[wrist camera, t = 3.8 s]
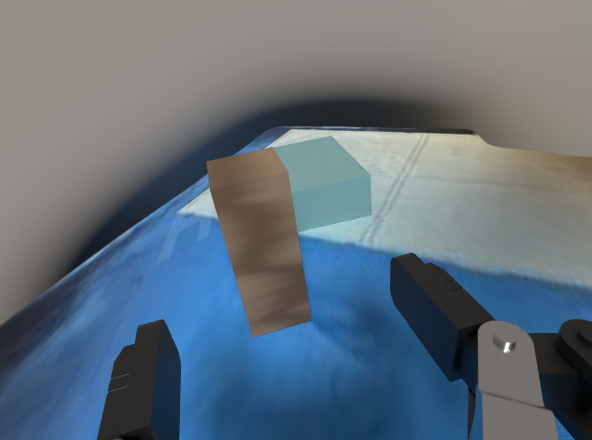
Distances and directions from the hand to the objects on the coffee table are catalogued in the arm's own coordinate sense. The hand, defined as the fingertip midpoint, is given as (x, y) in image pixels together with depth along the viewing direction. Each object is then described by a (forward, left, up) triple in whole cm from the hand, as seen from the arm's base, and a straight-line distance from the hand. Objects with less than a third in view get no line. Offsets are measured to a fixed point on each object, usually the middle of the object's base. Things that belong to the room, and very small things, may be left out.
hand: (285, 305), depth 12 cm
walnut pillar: (0, -11, -11) cm, 16 cm away
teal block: (-6, -27, -12) cm, 30 cm away
